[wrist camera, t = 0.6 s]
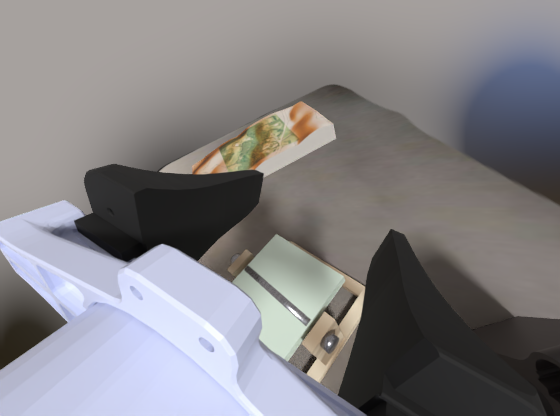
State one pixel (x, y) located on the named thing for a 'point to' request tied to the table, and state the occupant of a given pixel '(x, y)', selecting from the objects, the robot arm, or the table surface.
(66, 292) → the robot arm
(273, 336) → the trapdoor
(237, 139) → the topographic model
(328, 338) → the trapdoor frame
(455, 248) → the table surface
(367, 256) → the table surface
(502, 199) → the table surface
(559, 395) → the phone stand
